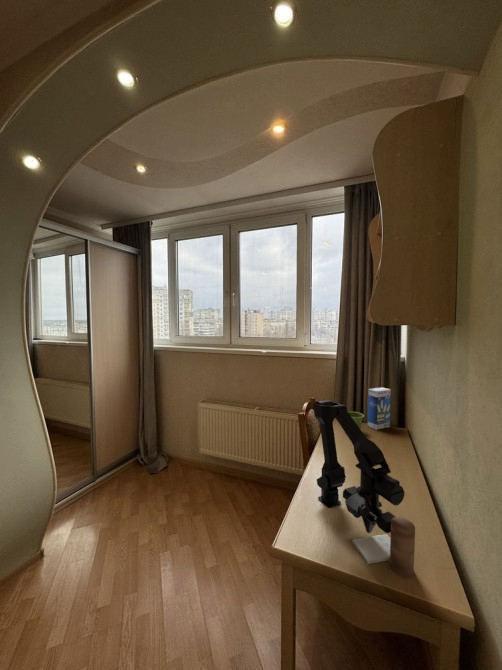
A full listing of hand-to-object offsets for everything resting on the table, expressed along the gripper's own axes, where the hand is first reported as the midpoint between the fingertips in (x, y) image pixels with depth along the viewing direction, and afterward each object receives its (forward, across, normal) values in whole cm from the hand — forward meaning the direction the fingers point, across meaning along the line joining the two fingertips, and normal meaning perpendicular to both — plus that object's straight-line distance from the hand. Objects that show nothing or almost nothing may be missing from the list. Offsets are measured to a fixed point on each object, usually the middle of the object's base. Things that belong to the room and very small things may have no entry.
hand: (368, 532), depth 89 cm
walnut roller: (+2, +12, 0) cm, 12 cm away
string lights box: (+2, -68, +82) cm, 107 cm away
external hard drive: (+2, +5, -1) cm, 5 cm away
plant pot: (+2, -68, +60) cm, 91 cm away
